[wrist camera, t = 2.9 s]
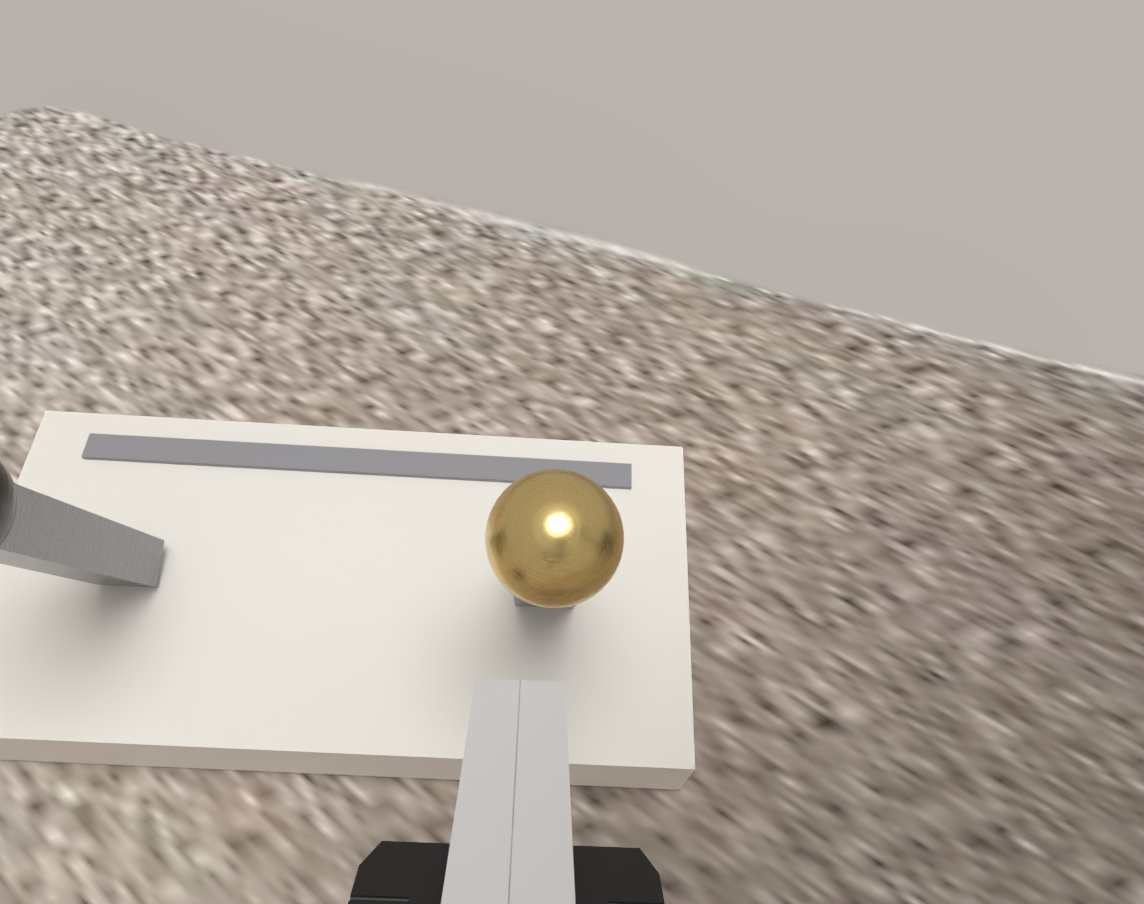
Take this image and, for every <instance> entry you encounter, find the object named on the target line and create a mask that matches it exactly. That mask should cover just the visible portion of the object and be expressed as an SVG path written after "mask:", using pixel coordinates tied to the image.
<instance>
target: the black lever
mask: <svg viewBox="0 0 1144 904" xmlns="http://www.w3.org/2000/svg"><path fill="white" fill-rule="evenodd" d="M163 546H164V540H162V539H160V538H157V537H154V536H152V535H149V534H147V533H144V532H141V531H139V530H136V529H133V528H131V527H128V526H125V525H123V524H120V523H118V522H115V521H112V520H110V519H107V518H104V517H102V516H99V515H97V514H94V513H91V512H89V511H86V510H83V509H81V508H78V507H75V506H73V505H70V504H68V503H65V502H62V501H60V500H57V499H54V498H52V497H49V496H47V495H44V494H41V493H39V492H36V491H33V490H31V489H28V488H25V487H23V486H20V485H18V484H15V483H13V480H12V478H11V476H10V474H9V472H8V471H7V469H6V468H5V466H4V465H3V464H2V463H1V462H0V564H4V565H9V566H13V567H18V568H23V569H27V570H32V571H36V572H41V573H46V574H50V575H55V576H59V577H64V578H69V579H73V580H78V581H83V582H87V583H92V584H96V585H115V586H135V587H154V588H157V585H158V579H159V572H160V566H161V559H162V552H163Z"/></svg>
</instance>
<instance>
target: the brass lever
mask: <svg viewBox="0 0 1144 904" xmlns="http://www.w3.org/2000/svg"><path fill="white" fill-rule="evenodd" d="M485 546H486V553H487V557H488V561H489V563H490V566H491V568H492V570H493V572H494V574H495V575H496V577H497V578H498V580H499V581H500V582H501V584H502V585H503V586H504V587H505V588H506V589H507V590H508V591H509V592H511V593H512V594H513V597H514V603H515V606H528V607H545V608H567V609H574V608H575V606H576V605H577V604H580V603H582V602H584V601H586V600H588V599H590V598H591V597H593V596H595V595H596V594H597V593H598V592H600V591H601V590H602V589H603V588H604V587H605V586H606V585H607V584H608V583H609V581H610V580H611V578H612V577H613V576H614V574H615V572H616V570H617V568H618V566H619V563H620V560H621V557H622V552H623V546H624V530H623V523H622V520H621V516H620V513H619V511H618V509H617V507H616V505H615V503H614V502H613V500H612V498H611V497H610V496H609V495H608V493H607V492H606V491H605V490H604V489H603V488H602V487H601V486H600V485H599V484H597V483H596V482H594V481H593V480H592V479H590V478H588V477H586V476H584V475H582V474H580V473H577V472H574V471H570V470H564V469H545V470H540V471H536V472H532V473H530V474H528V475H525V476H523V477H521V478H520V479H518V480H516V481H515V482H513V483H512V484H511V485H509V486H508V487H507V488H506V489H505V490H504V491H503V492H502V494H501V495H500V496H499V497H498V499H497V500H496V502H495V504H494V505H493V507H492V509H491V512H490V514H489V517H488V521H487V525H486V532H485Z"/></svg>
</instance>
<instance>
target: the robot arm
mask: <svg viewBox="0 0 1144 904" xmlns="http://www.w3.org/2000/svg"><path fill="white" fill-rule="evenodd" d="M348 904H664V898H663V893H662V887H661V881H660V876H659V873H658V872H657V871H656V869H655V868H654V867H653V865H652V864H651V863H650V861H649V860H648V859H647V857H646V856H645V855H644V853H643V852H642V851H641V849H640V848H619V847H593V846H573V841H572V819H571V798H570V777H569V756H568V735H567V714H566V693H565V682H547V681H525V680H504V679H482V678H475V685H474V691H473V698H472V704H471V711H470V717H469V724H468V730H467V737H466V743H465V750H464V756H463V763H462V769H461V776H460V782H459V789H458V795H457V802H456V808H455V815H454V821H453V828H452V834H451V841H450V844H445V843H419V842H393V841H382V842H381V843H380V844H379V845H378V846H377V847H376V848H375V849H374V850H373V851H372V852H371V853H370V855H369V856H368V857H367V858H366V859H365V860H364V861H363V862H362V863H361V864H360V865H359V868H358V871H357V875H356V878H355V882H354V885H353V889H352V892H351V897H350V901H349V902H348Z"/></svg>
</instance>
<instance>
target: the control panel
mask: <svg viewBox="0 0 1144 904" xmlns="http://www.w3.org/2000/svg"><path fill="white" fill-rule="evenodd" d="M545 469H564V470H570V471H574V472H577V473H580V474H582V475H584V476H586V477H588V478H590V479H592V480H593V481H594V482H596V483H597V484H599V485H600V486H601V487H602V488H603V489H604V490H605V491H606V492H607V493H608V495H609V496H610V497H611V498H612V500H613V502H614V503H615V505H616V507H617V509H618V511H619V513H620V516H621V520H622V523H623V530H624V546H623V552H622V557H621V560H620V563H619V566H618V568H617V570H616V572H615V574H614V576H613V577H612V578H611V580H610V581H609V583H608V584H607V585H606V586H605V587H604V588H603V589H602V590H601V591H600V592H598V593H597V594H596V595H595V596H593V597H591V598H590V599H588V600H586V601H584V602H582V603H580V604H577V605H576V606H575V608H574V609H567V608H545V607H528V606H515V603H514V597H513V594H512V593H511V592H509V591H508V590H507V589H506V588H505V587H504V586H503V585H502V584H501V582H500V581H499V580H498V578H497V577H496V575H495V574H494V572H493V570H492V568H491V566H490V563H489V561H488V557H487V553H486V546H485V532H486V525H487V521H488V517H489V514H490V512H491V509H492V507H493V505H494V504H495V502H496V500H497V499H498V497H499V496H500V495H501V494H502V492H503V491H504V490H505V489H506V488H507V487H508V486H509V485H511V484H512V483H513V482H515V481H516V480H518V479H520V478H521V477H523V476H525V475H528V474H530V473H532V472H536V471H540V470H545ZM17 484H18V485H20V486H23V487H25V488H28V489H31V490H33V491H36V492H39V493H41V494H44V495H47V496H49V497H52V498H54V499H57V500H60V501H62V502H65V503H68V504H70V505H73V506H75V507H78V508H81V509H83V510H86V511H89V512H91V513H94V514H97V515H99V516H102V517H104V518H107V519H110V520H112V521H115V522H118V523H120V524H123V525H125V526H128V527H131V528H133V529H136V530H139V531H141V532H144V533H147V534H149V535H152V536H154V537H157V538H160V539H162V540H164V546H163V552H162V559H161V566H160V572H159V579H158V585H157V588H154V587H135V586H115V585H96V584H92V583H87V582H83V581H78V580H73V579H69V578H64V577H59V576H55V575H50V574H46V573H41V572H36V571H32V570H27V569H23V568H18V567H13V566H9V565H4V564H0V760H17V761H40V762H63V763H85V764H108V765H130V766H153V767H175V768H198V769H220V770H243V771H265V772H288V773H311V774H333V775H356V776H378V777H401V778H423V779H446V780H460V776H461V769H462V763H463V756H464V750H465V743H466V737H467V730H468V724H469V717H470V711H471V704H472V698H473V691H474V685H475V678H482V679H504V680H525V681H547V682H565V693H566V714H567V735H568V756H569V777H570V785H581V786H604V787H626V788H649V789H671V790H680V789H681V788H682V787H683V785H684V784H685V783H686V781H687V780H688V778H689V777H690V776H691V774H692V773H693V772H694V770H695V752H694V726H693V700H692V674H691V648H690V622H689V596H688V570H687V544H686V518H685V492H684V466H683V447H673V446H656V445H638V444H621V443H603V442H586V441H568V440H551V439H533V438H516V437H498V436H481V435H463V434H446V433H428V432H411V431H393V430H376V429H358V428H341V427H323V426H306V425H288V424H271V423H253V422H236V421H218V420H201V419H183V418H166V417H148V416H131V415H113V414H96V413H78V412H61V411H45V413H44V416H43V418H42V421H41V423H40V426H39V429H38V431H37V434H36V436H35V439H34V441H33V444H32V446H31V449H30V451H29V454H28V456H27V459H26V461H25V464H24V466H23V469H22V471H21V474H20V476H19V479H18V481H17Z"/></svg>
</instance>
